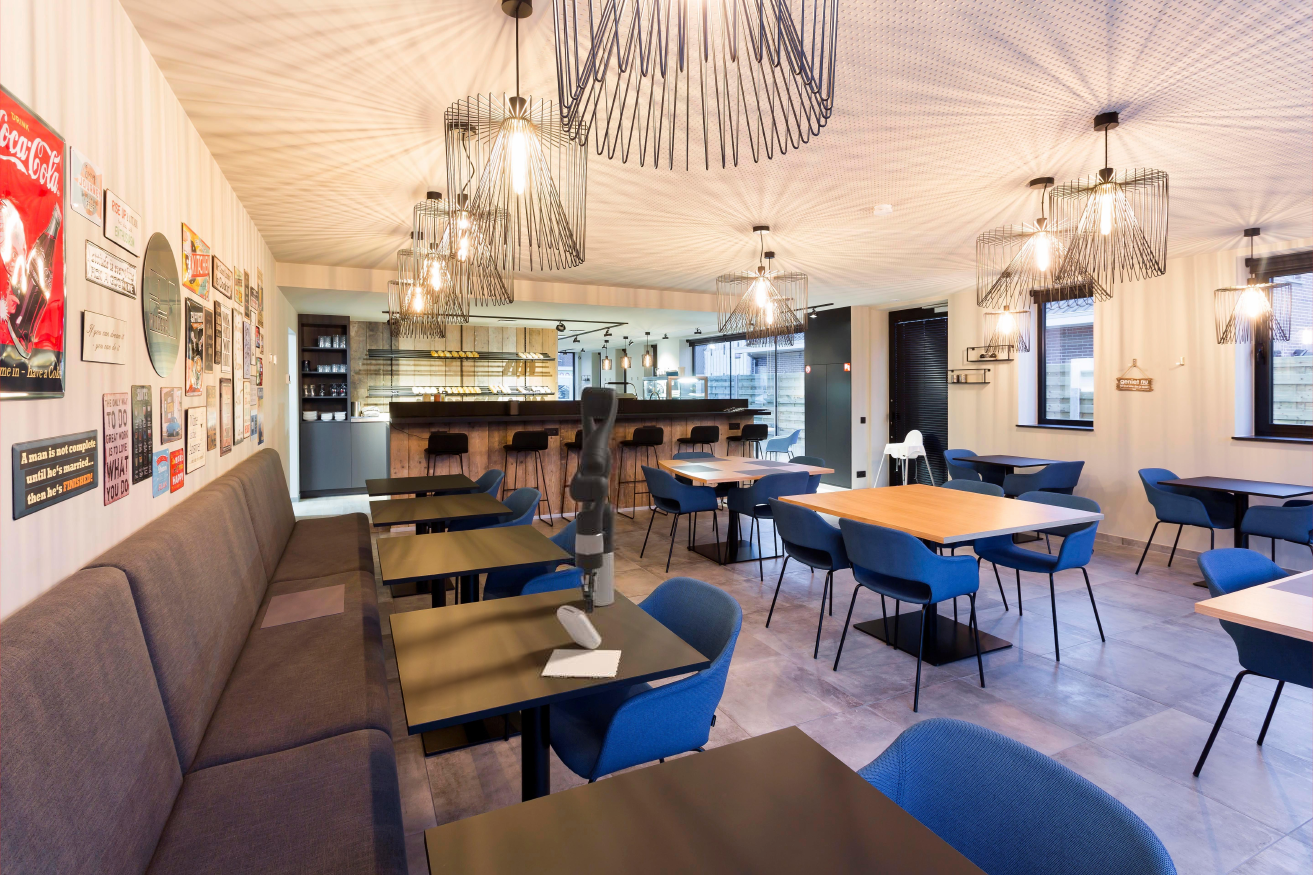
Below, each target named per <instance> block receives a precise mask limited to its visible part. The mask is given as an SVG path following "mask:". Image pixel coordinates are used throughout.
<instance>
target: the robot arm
mask: <svg viewBox="0 0 1313 875" xmlns="http://www.w3.org/2000/svg"><path fill="white" fill-rule="evenodd" d="M618 406H619V393H618V391H617V389H616V388H613V387H602V386H601V387H600V386H585V387H584V388H583V389H582V391H581V396H580V415H581V426H582V449H581V454H580V461H579V465H578V467H577V469H576V471H575V473H574V474H573V476H572V478H571V480H570V483H569V485H568V486H569V487H568V494H569V497H570V498H571V500H572V501H574V502H575V503H576V502H577V503H582V504H581V511H579V512H578V513H576V517H575V518H576V519H575V520H576V521H575V523H576V525H575V528H576V529H575V534H576V535H575V546H574V547H575V549H574V550H575V551H574V552H575V553H574V554H575V559H574V560H575V562H574V563H575V567H576V568H577V569H580V570H582V571H583V572H582V574H581V576H580V580H581V585H580V587H581V592H582V598H583V600H584V604H585V605H584V612H585V613H586V614H593V613H594V612H595V606H596V607H604V606H610V605H611V604H613V603H614V602H615V600H614V599H615V598H614V597H615V593H614V592H615V584H614V583H615V578H614V577H615V576H614V573H615V572H614V571H615V570H614V568H615V562H614V560H615V556H614V555H615V554H614V551H615V550H614V549H615V547H614V543H615V542H614V536H615V534H614V533H615V532H614V529H615V507H614V505H613V504H612V503H611V502H609V503H608V502H607V498H608V495H609V491H610V489H609V488H610V484H609V482H608V479H609V477H610V476H611V472H612V452H611V449H610V448H609V444H610V443H609V442H610V440H611V437H612V432H613V429H614V427H615V426H614V425H615V421H616V417H617V414H618V408H619V407H618ZM594 418H599V419H602V421H601V423H600V424H599V425H598V426H597V427H596V424H595V421H594Z"/></svg>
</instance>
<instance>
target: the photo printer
mask: <svg viewBox="0 0 1313 875" xmlns="http://www.w3.org/2000/svg"><path fill="white" fill-rule="evenodd" d="M556 611H557V612H556V616H557V618H558V620H559V622H560V623H561V624H562V626H563V627H564V629H566V632H567V633H568V634H569V636H570V637H571V638H572V640H573V641H574V642H575V643H576V644H578V645H580V646H582V647H585V648H588V649H589V650H595V649H596V648H598V647H599V646H600V645H601V643H602V640H603V639H602V637H601V636H600V634H599V632H598V631H597V630H596V628H595V627H594V626H593V624H592V623H591V621H590V619H588V618H589V617H588V616H587V615H586V614H585V613H584V612H583V610H581V609H579V608H577V607H574V606H572V605H562V606H560V607H559V608H558V609H557V610H556Z"/></svg>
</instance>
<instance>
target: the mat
mask: <svg viewBox="0 0 1313 875" xmlns="http://www.w3.org/2000/svg"><path fill="white" fill-rule="evenodd" d="M621 653H622V650H621V649H620V650H615V649H614V650H613V649H610V650H609V649H607V650H606V649H604V650H603V649H559V648H558V649H557V648H556V649H555V648H554V649H553V652H552V654H551V656H550V658H549V659H548V661H547V663H546V666H545V667H544V669H543V671H542V673H541V677H542V676H551V677H550V678H567V677H572V676H574V677H590V678H589V679H603V678H602V677H615V675H616V676H617V672H618V668H617V667H619V664H620V660H619V659H621V655H622V654H621ZM618 663H619V664H618ZM616 671H617V672H616ZM552 676H553V677H552ZM560 676H562V677H560ZM563 676H564V677H563ZM591 677H593V678H591ZM598 677H599V678H598ZM615 678H616V677H615Z"/></svg>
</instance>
